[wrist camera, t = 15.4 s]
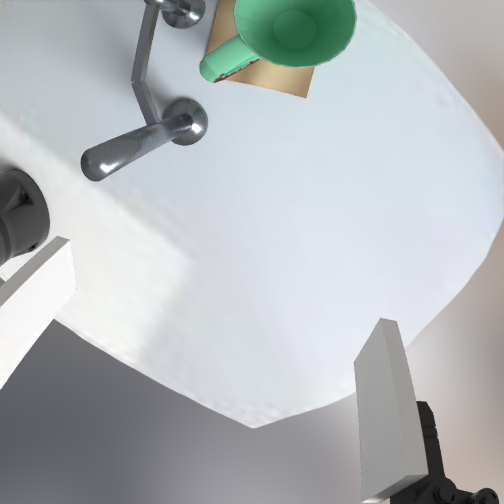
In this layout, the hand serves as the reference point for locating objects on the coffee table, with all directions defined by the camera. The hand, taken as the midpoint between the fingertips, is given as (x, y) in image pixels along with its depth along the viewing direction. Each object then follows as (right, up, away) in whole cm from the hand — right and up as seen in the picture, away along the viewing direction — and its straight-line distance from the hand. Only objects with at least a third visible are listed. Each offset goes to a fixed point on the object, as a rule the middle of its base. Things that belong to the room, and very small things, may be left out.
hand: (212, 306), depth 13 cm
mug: (+4, +25, +17) cm, 30 cm away
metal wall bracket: (-7, +24, +20) cm, 32 cm away
